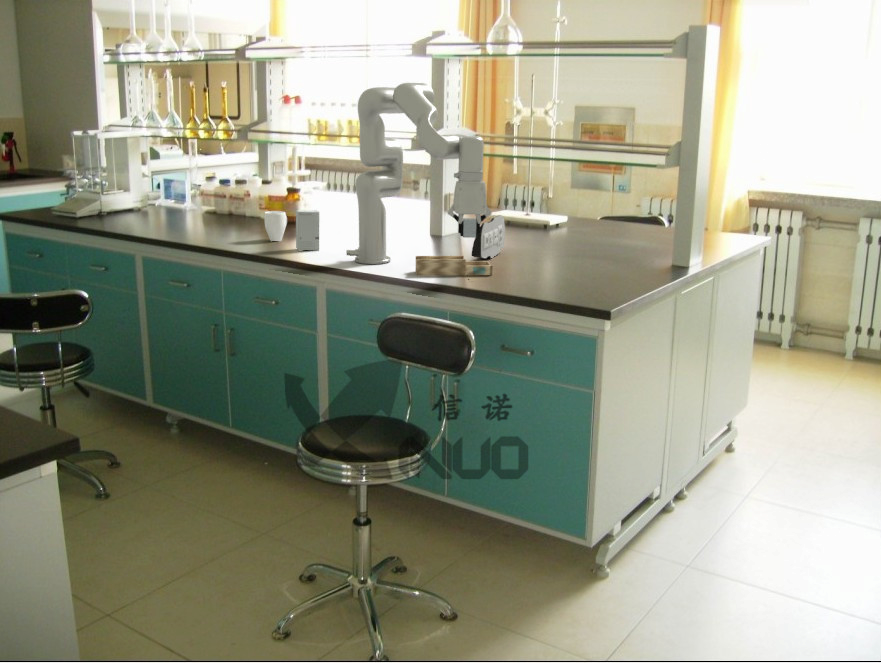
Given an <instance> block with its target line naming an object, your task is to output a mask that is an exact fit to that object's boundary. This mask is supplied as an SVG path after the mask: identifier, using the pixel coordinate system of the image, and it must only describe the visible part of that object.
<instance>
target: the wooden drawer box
mask: <svg viewBox="0 0 881 663" xmlns="http://www.w3.org/2000/svg"><path fill="white" fill-rule="evenodd" d="M415 274H416V276H417V277H418V276H466V275H492V276H493V265H492V263H491V262H490V261H489V260H466V259H465V258H464V255H415Z"/></svg>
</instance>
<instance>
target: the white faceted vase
mask: <svg viewBox="0 0 881 663" xmlns="http://www.w3.org/2000/svg"><path fill="white" fill-rule="evenodd" d="M263 216H264V227H265V230H266V234H267V235H268V238H269V241H270V242H272V241H279V242H281V241H282V240H283V238H284V233H285V230H286V227H287V224H288V217H287V214H286V211H282V210H268V211H265V212H264V215H263Z"/></svg>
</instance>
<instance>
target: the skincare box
mask: <svg viewBox="0 0 881 663" xmlns="http://www.w3.org/2000/svg"><path fill="white" fill-rule="evenodd" d="M295 242H296V243H295V244H296V246H295V249H296V248H297V249H298V250H313V251H320V211H318V210H315V209H314V210H313V209H298V210H295ZM297 249H296V250H297ZM298 250H297V251H298Z"/></svg>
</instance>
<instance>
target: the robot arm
mask: <svg viewBox="0 0 881 663" xmlns="http://www.w3.org/2000/svg"><path fill="white" fill-rule="evenodd" d="M434 103H435V92H434V90H433V88H432V87H431V86H430V85H428V84H427V83H423V82H404V83H403V82H402V83H400V84H398V85H397V86H396V87H381V86H378V87H370V88H368V89H366V90H364V91H363V92H362V93H361V94H360V96H359V97H358V101H357V114H358V120H359V157H360V158H359V159H360V162H361V164H362V165H363V166H365V167H369V168H377V167H378V168H379V167H381V168H382V170H381V169H380V170H379V169H378V170H377V169H376V170H367V171H364V172H361V173H360V174H359V175H358V176H356V179H355V183H354V184H355V186H354V187H355V191H356V192H355V193H356V199H357V205H358V248H355V249H346V253H345V254H346V256H350V257H354V262H356V263H358V264H362V265H363V264H364V265H383V264H387V262H388V263H390V262H391V257H390V256H388V255H387V212H386V211H387V210H386V208H385V207H386V206H385V205H384V202H383V201H382V199H383V198H385V199H386V198H392V197H396V196H398V195H399V194H400V193H401V192H402V188H403V182H404V181H403V180H404V175H403V174H404V153H403V148H402V146H401V144H400V142H399V141H398V140H396V138H391V137H387V138H386V137H385V136H386V134H385V132H386V129H385V128H386V126H385V123H384V121H383V119H382V117H381V115H382V114H404V115H405V116H406V117H407V118H408V119H409V120H410V121H411V123H412V124H413V125H414V126H415V127H416V129H415V130H416V131H415V132H416V137H417V141H418V142H419V144H420V146H421V147H422V149H424V150H425V152H427V153H428V154H429V155H430V156H431V158H432V157H433V159H436V160H440V161H441V160H443V161H444V160H458V172H456V173H453V178H455V179H457V180H456V182H455V187H454V194H453V203H452V204H451V206H450V207H449V209H448V210H447V212H446V213H447V214H448V216H450V217H451V218H453V219H454V220H455V221H456V222H457V223H458V226H457V227H458V228H457V231H458V233H457V234H459V235H460V237H463V221H462V220H463V218H464V215H474V216H475V219H476V236H478V233H480V226H481V224H482V223H483V221H485V219H487V218H488V217H490V216H491V215H492V211H491V209H490V208H489V206H488V204H487V186H486V182H485V181H484V180H483V177H484V174H483V172H484V148H485V147H484V145H485V144H484V139H483V137H480V136H476V135H475V136H471V135H469V136H468V135H464V134H459V133H457V134H440V133H439V132H438V130H436V128H434V127H433V126H434V124H435V123H436V122H437V120H438V116H439V111H438V109H437V107H436V106H434ZM380 114H381V115H380ZM382 263H383V264H382Z"/></svg>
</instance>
